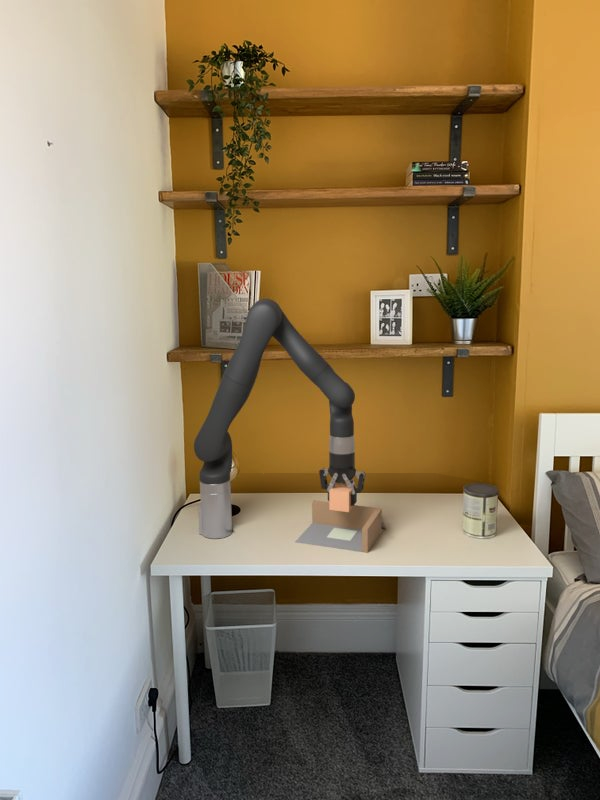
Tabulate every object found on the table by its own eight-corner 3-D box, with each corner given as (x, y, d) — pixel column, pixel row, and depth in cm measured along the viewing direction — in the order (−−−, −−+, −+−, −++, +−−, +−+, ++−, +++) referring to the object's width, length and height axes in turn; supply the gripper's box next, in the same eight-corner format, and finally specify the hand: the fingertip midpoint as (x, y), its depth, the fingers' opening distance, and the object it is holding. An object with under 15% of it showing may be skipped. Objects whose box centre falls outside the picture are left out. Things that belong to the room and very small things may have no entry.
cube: (329, 509, 184) (329, 490, 183) (335, 503, 190) (335, 484, 189) (348, 512, 182) (348, 492, 181) (354, 505, 188) (354, 486, 187)
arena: (294, 545, 183) (294, 519, 181) (314, 523, 199) (313, 500, 197) (367, 556, 175) (367, 529, 174) (381, 533, 191) (381, 508, 189)
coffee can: (468, 523, 198) (470, 480, 195) (500, 530, 192) (503, 486, 189) (456, 534, 189) (458, 490, 187) (490, 541, 184) (492, 496, 181)
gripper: (314, 451, 182) (315, 505, 185) (362, 455, 177) (362, 511, 180) (322, 444, 189) (323, 497, 192) (369, 448, 184) (368, 502, 187)
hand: (342, 503), depth 186 cm, fingers closed on cube, 6 cm apart
